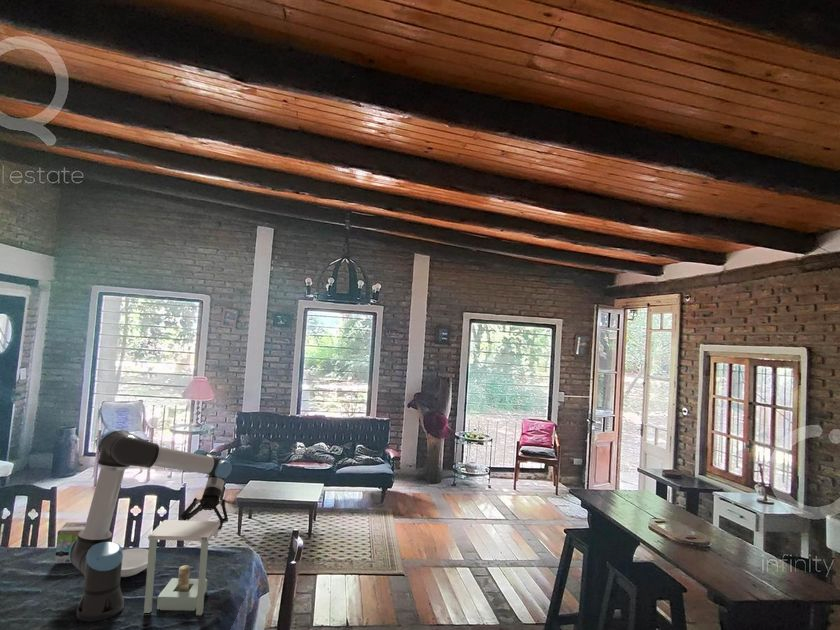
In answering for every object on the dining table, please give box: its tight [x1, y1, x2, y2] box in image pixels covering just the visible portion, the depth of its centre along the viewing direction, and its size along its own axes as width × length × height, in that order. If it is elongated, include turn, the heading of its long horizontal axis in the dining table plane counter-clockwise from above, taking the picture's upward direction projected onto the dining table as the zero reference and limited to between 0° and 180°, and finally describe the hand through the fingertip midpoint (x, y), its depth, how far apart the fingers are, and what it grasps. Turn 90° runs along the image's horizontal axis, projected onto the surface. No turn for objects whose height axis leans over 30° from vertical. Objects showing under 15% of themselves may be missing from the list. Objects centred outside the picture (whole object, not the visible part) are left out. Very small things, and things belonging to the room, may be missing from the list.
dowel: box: [177, 564, 191, 592], centre depth 203 cm, size 4×4×12 cm
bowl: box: [121, 547, 149, 578], centre depth 220 cm, size 20×20×6 cm
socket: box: [143, 519, 220, 616], centre depth 202 cm, size 22×17×30 cm
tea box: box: [54, 521, 86, 565], centre depth 230 cm, size 15×10×15 cm
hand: (198, 536), depth 221 cm, fingers open, 13 cm apart
